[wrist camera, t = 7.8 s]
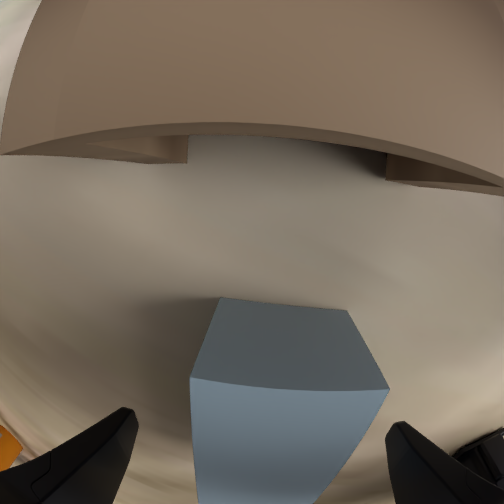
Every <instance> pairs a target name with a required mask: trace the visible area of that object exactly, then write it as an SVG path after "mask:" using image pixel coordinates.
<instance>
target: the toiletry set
mask: <svg viewBox="0 0 504 504" xmlns="http://www.w3.org/2000/svg"><path fill="white" fill-rule="evenodd" d="M22 449H23V448H22V446H21V444H20V443H19V442H18V441H17V440H16V439H15V438H14V436H13V435H12V434H11V433H10V432H9V431H7V430H6V429H5V428H4V427H3V426H1V425H0V471H3V470H6V469H9V467H10V466H11V465H12V463H13V462H14V460H15V459H16V458H17V456H18V455H19V454H20V452H21V451H22Z"/></svg>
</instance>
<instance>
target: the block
mask: <svg viewBox="0 0 504 504" xmlns="http://www.w3.org/2000/svg"><path fill="white" fill-rule="evenodd" d="M189 135H250V136H268V137H281V138H293V139H303V140H312V141H320V142H328V143H335V144H342V145H348V146H354V147H360V148H366V149H371V150H376V151H381V152H386V153H387V163H386V179H385V180H387V181H393V182H398V183H403V184H408V185H413V186H418V187H429V188H440V189H451V190H460V191H468V192H476V193H484V194H491V195H498V196H504V0H42V1H41V3H40V5H39V7H38V9H37V11H36V14H35V16H34V18H33V20H32V23H31V25H30V27H29V30H28V32H27V35H26V37H25V40H24V43H23V45H22V48H21V51H20V54H19V57H18V60H17V63H16V67H15V70H14V73H13V77H12V81H11V85H10V89H9V93H8V98H7V102H6V108H5V113H4V119H3V125H2V132H1V141H0V155H44V156H66V157H82V158H95V159H107V160H117V161H127V162H136V163H144V164H163V163H187V152H188V138H189Z"/></svg>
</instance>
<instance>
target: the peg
mask: <svg viewBox="0 0 504 504" xmlns="http://www.w3.org/2000/svg"><path fill="white" fill-rule="evenodd" d="M389 390H390V388H389V386H388V384H387V382H386V380H385V378H384V376H383V375H382V373H381V371H380V369H379V367H378V365H377V363H376V362H375V360H374V358H373V356H372V354H371V352H370V351H369V349H368V347H367V345H366V343H365V342H364V340H363V338H362V336H361V334H360V333H359V331H358V329H357V327H356V326H355V324H354V322H353V320H352V319H351V317H350V315H349V314H348V312H347V311H346V310H333V309H321V308H310V307H300V306H290V305H280V304H271V303H262V302H254V301H246V300H238V299H230V298H223V297H220V300H219V302H218V305H217V308H216V310H215V313H214V315H213V318H212V320H211V323H210V325H209V328H208V331H207V333H206V336H205V338H204V341H203V343H202V346H201V349H200V351H199V354H198V356H197V359H196V362H195V364H194V367H193V369H192V372H191V375H190V405H191V425H192V441H193V454H194V466H195V476H196V486H197V495H198V503H199V504H313V503H314V502H315V501H316V500H317V498H318V497H319V496H320V495H321V494H322V493H323V491H324V490H325V489H326V488H327V486H328V485H329V484H330V483H331V481H332V480H333V479H334V478H335V476H336V475H337V474H338V472H339V471H340V470H341V468H342V467H343V466H344V464H345V463H346V461H347V460H348V459H349V457H350V456H351V454H352V453H353V451H354V450H355V448H356V447H357V445H358V444H359V442H360V441H361V439H362V438H363V436H364V434H365V433H366V431H367V430H368V428H369V426H370V425H371V423H372V421H373V420H374V418H375V416H376V414H377V413H378V411H379V409H380V407H381V405H382V404H383V402H384V400H385V398H386V396H387V394H388V392H389Z"/></svg>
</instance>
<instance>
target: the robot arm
mask: <svg viewBox="0 0 504 504" xmlns="http://www.w3.org/2000/svg"><path fill="white" fill-rule="evenodd" d="M138 428H139V424H138V421H137V418H136V415H135V412H134V410H133V409H130V408H126V407H121V408H120V409H118V410H117V411H115V412H113V413H112V414H110V415H109V416H107V417H106V418H104V419H102V420H101V421H99V422H98V423H96V424H94V425H93V426H91V427H90V428H88V429H86V430H85V431H83V432H81V433H80V434H78V435H76V436H75V437H73V438H71V439H70V440H68V441H66V442H65V443H63V444H61V445H59V446H58V447H56V448H54V449H52V450H51V451H49V452H47V453H45V454H43V455H41V456H39V457H37V458H35V459H33V460H31V461H28V462H26V463H23V464H21V465H18V466H15V467H12V468H9V469H6V470H3V471H0V504H113V501H114V499H115V496H116V494H117V491H118V489H119V486H120V484H121V481H122V479H123V476H124V474H125V472H126V469H127V467H128V464H129V461H130V458H131V454H132V450H133V447H134V443H135V439H136V436H137V432H138ZM503 436H504V428H503V429H501V430H499V431H497V432H495V433H494V434H492V435H490V436H488V437H486V438H484V439H482V440H480V441H478V442H476V443H473V444H471V445H469V446H467V447H465V448H463V449H461V450H460V451H459V452H457V453H456V455H455V456H454V457H451V456H450V455H448V454H447V453H446V452H444V451H443V450H442V449H440V448H439V447H438V446H436V445H435V444H434V443H432V442H431V441H430V440H429V439H427V438H426V437H425V436H423V435H422V434H421V433H419V432H418V431H417V430H416V429H414V428H413V427H412V426H410V425H409V424H408V423H407V422H405V421H401V422H396V423H394V424H393V425H392V427H391V428H390V430H389V432H388V433H387V435H386V438H385V444H386V452H387V460H388V469H389V475H390V480H391V484H392V489H393V493H394V498H395V503H396V504H504V438H503Z"/></svg>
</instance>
